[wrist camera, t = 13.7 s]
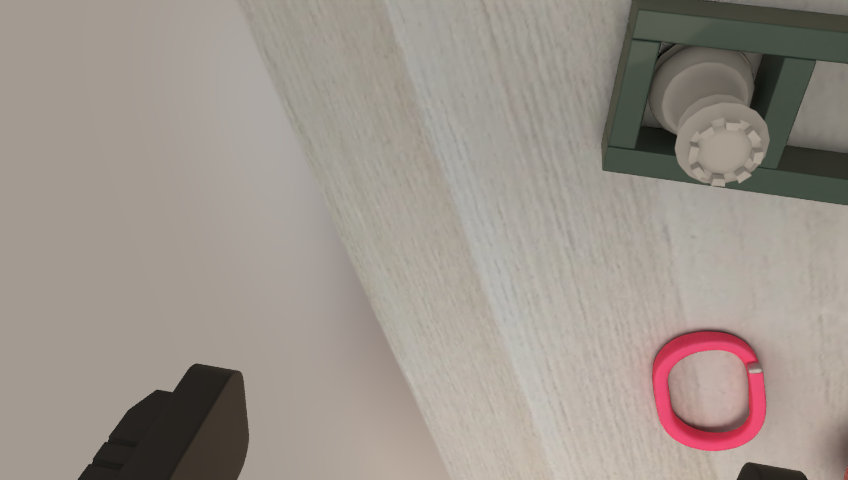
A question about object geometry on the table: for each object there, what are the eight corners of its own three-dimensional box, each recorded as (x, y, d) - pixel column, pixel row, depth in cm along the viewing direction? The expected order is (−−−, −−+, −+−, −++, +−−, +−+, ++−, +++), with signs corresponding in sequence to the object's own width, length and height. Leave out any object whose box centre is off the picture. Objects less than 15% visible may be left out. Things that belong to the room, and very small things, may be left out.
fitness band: (764, 433, 42) (770, 452, 40) (661, 437, 43) (663, 457, 42) (757, 323, 38) (763, 341, 37) (644, 334, 40) (646, 351, 38)
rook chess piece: (727, 14, 30) (766, 72, 24) (765, 100, 32) (813, 178, 25) (628, 64, 32) (639, 132, 26) (670, 144, 34) (690, 227, 27)
